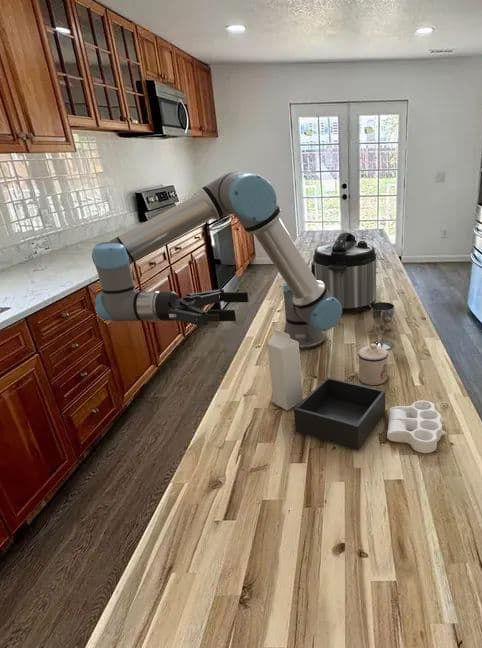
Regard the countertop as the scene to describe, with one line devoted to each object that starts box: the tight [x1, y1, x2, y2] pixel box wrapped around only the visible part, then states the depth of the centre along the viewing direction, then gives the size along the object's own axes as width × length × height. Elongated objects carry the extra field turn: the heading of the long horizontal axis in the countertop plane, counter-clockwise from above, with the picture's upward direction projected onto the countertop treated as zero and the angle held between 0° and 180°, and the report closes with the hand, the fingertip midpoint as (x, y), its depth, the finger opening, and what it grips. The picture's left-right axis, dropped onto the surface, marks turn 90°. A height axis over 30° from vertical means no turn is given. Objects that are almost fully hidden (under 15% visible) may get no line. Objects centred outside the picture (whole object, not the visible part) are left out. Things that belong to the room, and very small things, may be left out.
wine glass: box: [370, 301, 395, 350], centre depth 153 cm, size 8×8×15 cm
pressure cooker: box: [310, 231, 377, 314], centre depth 188 cm, size 30×28×32 cm
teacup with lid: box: [357, 343, 389, 386], centre depth 134 cm, size 12×9×12 cm
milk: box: [267, 328, 304, 411], centre depth 119 cm, size 6×6×22 cm
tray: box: [293, 376, 387, 451], centre depth 113 cm, size 18×18×7 cm
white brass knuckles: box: [386, 400, 448, 454], centre depth 110 cm, size 3×18×15 cm
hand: (241, 305), depth 111 cm, fingers open, 13 cm apart
